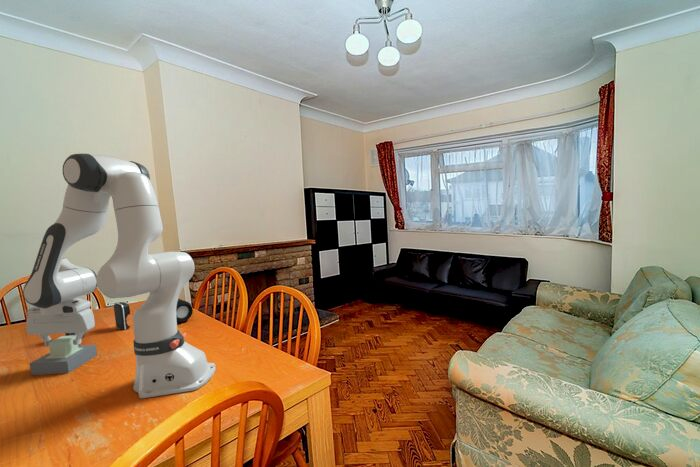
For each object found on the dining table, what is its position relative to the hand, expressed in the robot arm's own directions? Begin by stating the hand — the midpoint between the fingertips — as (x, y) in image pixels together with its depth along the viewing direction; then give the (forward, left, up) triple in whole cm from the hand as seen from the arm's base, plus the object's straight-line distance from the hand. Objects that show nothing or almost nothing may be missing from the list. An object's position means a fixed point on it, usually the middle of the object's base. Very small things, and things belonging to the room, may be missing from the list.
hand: (63, 344), depth 107 cm
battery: (+2, -32, -7) cm, 33 cm away
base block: (0, 0, -7) cm, 7 cm away
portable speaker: (-14, -43, -7) cm, 45 cm away
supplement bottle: (+15, -22, -7) cm, 28 cm away
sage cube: (0, 0, -3) cm, 3 cm away
